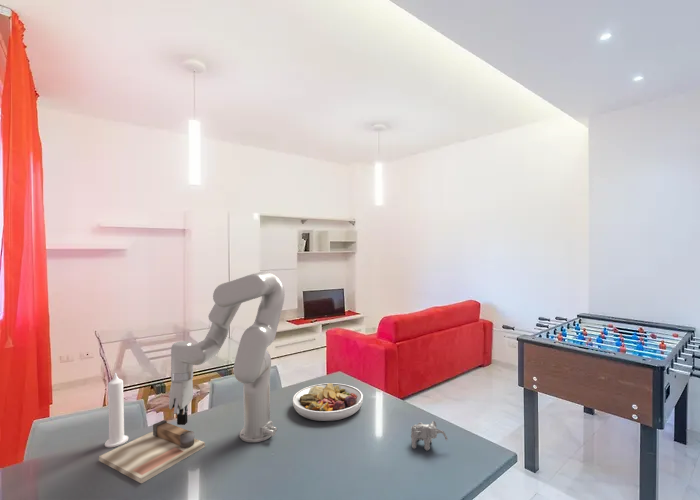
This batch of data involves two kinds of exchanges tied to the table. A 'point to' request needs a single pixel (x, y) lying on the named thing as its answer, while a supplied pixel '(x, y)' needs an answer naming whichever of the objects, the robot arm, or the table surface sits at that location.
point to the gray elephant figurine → (425, 434)
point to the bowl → (327, 401)
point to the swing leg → (173, 434)
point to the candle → (116, 413)
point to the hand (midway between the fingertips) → (182, 423)
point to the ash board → (147, 456)
